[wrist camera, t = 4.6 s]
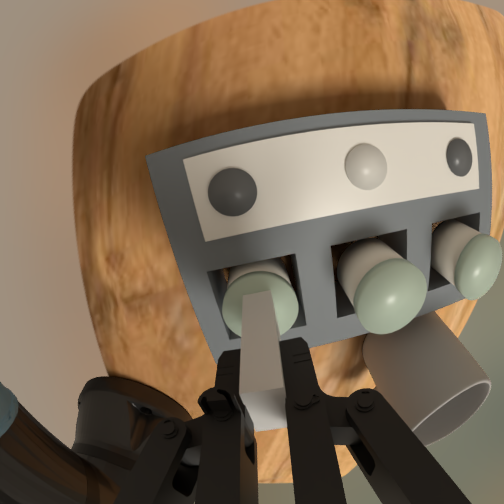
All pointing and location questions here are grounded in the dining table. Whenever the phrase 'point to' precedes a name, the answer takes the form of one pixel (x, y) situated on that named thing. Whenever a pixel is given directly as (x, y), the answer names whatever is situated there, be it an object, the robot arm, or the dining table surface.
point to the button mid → (381, 285)
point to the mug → (426, 376)
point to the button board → (313, 231)
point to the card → (329, 174)
